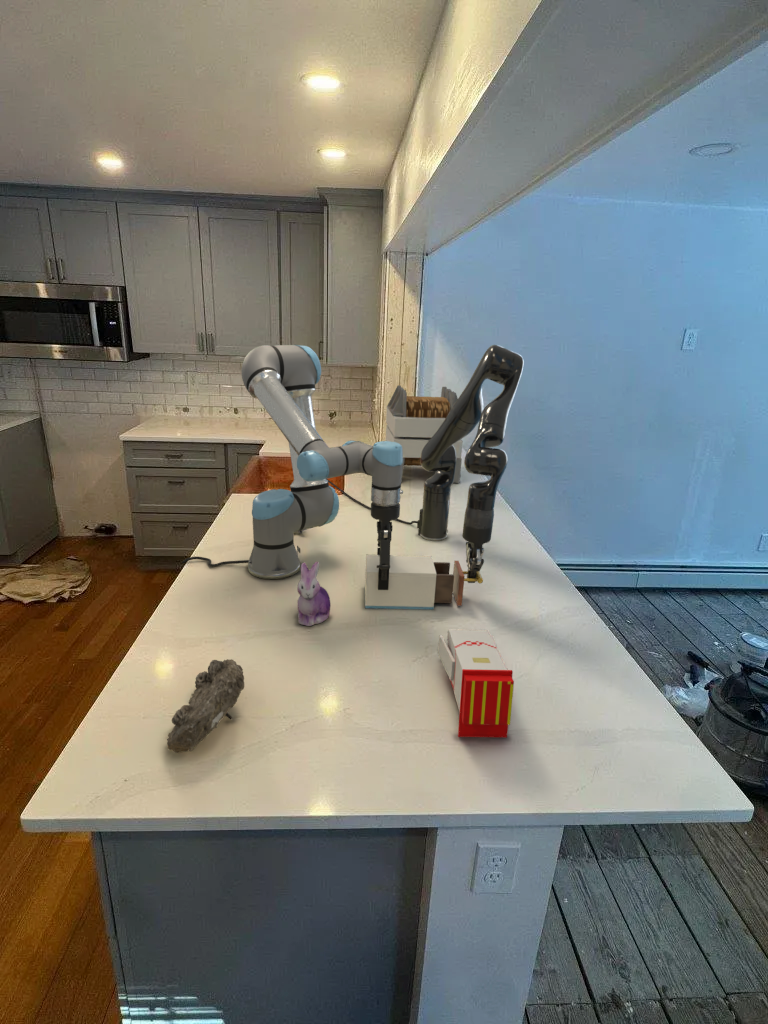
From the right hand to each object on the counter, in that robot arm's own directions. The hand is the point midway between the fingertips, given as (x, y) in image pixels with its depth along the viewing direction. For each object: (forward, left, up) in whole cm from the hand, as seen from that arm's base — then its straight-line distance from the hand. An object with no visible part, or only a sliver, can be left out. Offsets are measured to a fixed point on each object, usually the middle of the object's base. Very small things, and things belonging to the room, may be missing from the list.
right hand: (470, 581), depth 154 cm
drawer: (-7, -5, -5) cm, 10 cm away
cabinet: (-16, -12, -6) cm, 20 cm away
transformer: (-78, +99, -6) cm, 127 cm away
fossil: (-17, -74, -6) cm, 76 cm away
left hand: (-19, -15, 0) cm, 24 cm away
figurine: (-26, -34, -6) cm, 44 cm away
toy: (+19, -36, -6) cm, 41 cm away
